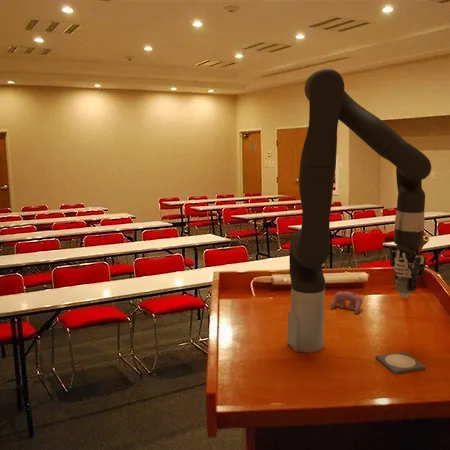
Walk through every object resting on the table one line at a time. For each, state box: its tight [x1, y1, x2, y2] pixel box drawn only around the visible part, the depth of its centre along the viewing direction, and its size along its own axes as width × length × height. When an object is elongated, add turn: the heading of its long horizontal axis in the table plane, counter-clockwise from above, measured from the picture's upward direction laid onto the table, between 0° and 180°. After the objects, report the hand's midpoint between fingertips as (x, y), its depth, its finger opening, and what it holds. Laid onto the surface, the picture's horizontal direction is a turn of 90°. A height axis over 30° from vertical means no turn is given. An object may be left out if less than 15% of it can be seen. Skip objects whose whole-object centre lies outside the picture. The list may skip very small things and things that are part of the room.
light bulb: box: [394, 257, 415, 299], centre depth 147 cm, size 6×6×12 cm
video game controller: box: [329, 290, 363, 315], centre depth 178 cm, size 10×5×7 cm, turn 58°
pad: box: [375, 351, 427, 375], centre depth 140 cm, size 9×9×1 cm
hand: (404, 286), depth 148 cm, fingers closed on light bulb, 5 cm apart
